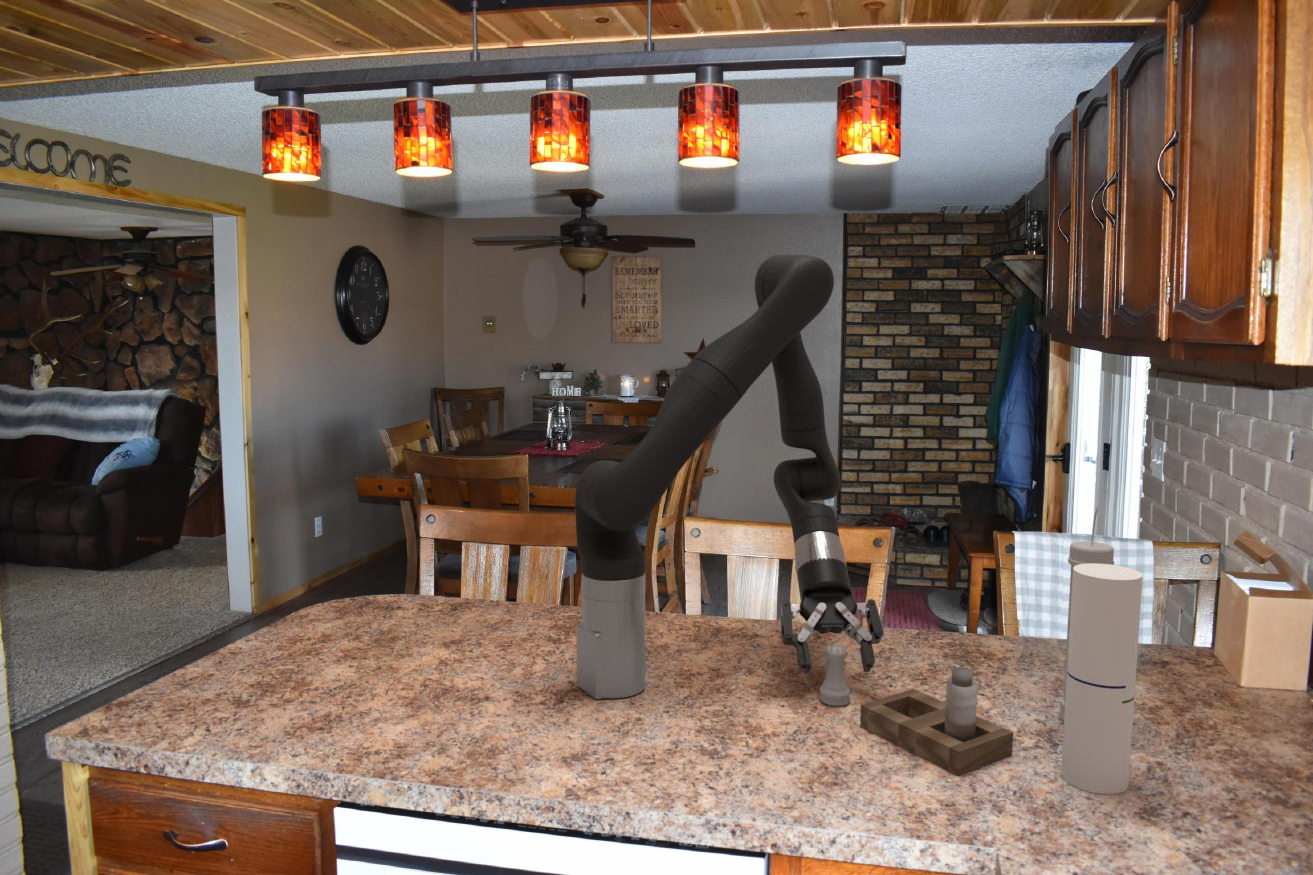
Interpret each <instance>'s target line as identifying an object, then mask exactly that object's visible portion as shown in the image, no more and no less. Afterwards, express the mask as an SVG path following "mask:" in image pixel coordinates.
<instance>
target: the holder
mask: <svg viewBox="0 0 1313 875" xmlns="http://www.w3.org/2000/svg"><path fill="white" fill-rule="evenodd" d="M973 673H974V672H973V670H972V669H971V668H967V667H963V666H956V667H953V668H952V670H951V677H949V678H948V679H947V680H946V684H945V685H946V688H945V702H944V701H942V700H940V699H937V698H935V697H933V696H931V695H928V694H926V693H923V692H922V691H919V690H918V689H914V688H912V689H908V690H905V691H901V692H898V693H895V694H892V695H888V696H886V697H882V698H879V699H875V700H871V701H869V702H865V703H861V704H860V721H859V726H860V727H861V728H862V729H865V730H867V731H869V732H870V733H872V734H875V735H877V736H879V737H880V738H883V739H884V740H886V741H888V742H890V743H892V744H894V745H896V746H898V747H900V748H902V749H903V750H906V751H908V752H909V753H912V754H914V755H916V756H918V757H920V758H921V759H924V760H926V761H928V762H930V763H932V764H933V765H936V766H937V767H939V768H941V769H943V770H945V771H947V772H950V773H951V774H953V775H955V776H957V777H959V776H962V775H964V774H967V773H969V772H972V771H975V770H977V769H979V768H982V767H985V766H989V765H991V764H993V763H996V762H998V761H1000V760H1003V759H1006V758H1008V757H1010V756H1013V744H1014V743H1013V742H1014V732H1013V731H1012V730H1010V729H1008V728H1004V727H1003V726H1000V725H998V724H995V723H994V722H992V721H988V720H986V719H984V718H982V717H979V716H977V700H978V699H977V698H978V683H977V682H976V681H974V680H973Z"/></svg>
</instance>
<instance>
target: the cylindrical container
mask: <svg viewBox="0 0 1313 875" xmlns="http://www.w3.org/2000/svg"><path fill="white" fill-rule="evenodd" d="M1143 577H1144V575H1143V573H1142V572H1141V571H1138V570H1136V569H1133V568H1130V567H1126V566H1121V565H1116V564H1114V565H1110V564H1096V563H1089V564H1079V565H1076V566H1074V567H1073V579H1072V596H1071V613H1070V630H1069V647H1068V664H1067V681H1066V698H1065V715H1064V722H1063V736H1062V738H1063V739H1062V749H1061V751H1062V753H1061V769H1060V774H1061V777H1062V779H1063V780H1064V781H1065V782H1067V784H1070V785H1071V786H1073V787H1075V788H1076V789H1080V790H1083V791H1085V790H1086V791H1085V792H1089V793H1092V794H1098V795H1117V794H1122V793H1124V792H1126V791H1127V790H1128V789H1129V783H1130V766H1131V756H1132V755H1131V754H1132V753H1131V752H1132V738H1133V725H1134V724H1133V722H1134V707H1135V696H1136V695H1135V692H1136V680H1137V678H1136V677H1137V664H1138V650H1139V634H1140V623H1141V622H1140V621H1141V620H1140V619H1141V608H1142V607H1141V606H1142V605H1141V604H1142V592H1143V591H1142V590H1143Z"/></svg>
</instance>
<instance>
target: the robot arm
mask: <svg viewBox="0 0 1313 875" xmlns="http://www.w3.org/2000/svg"><path fill="white" fill-rule="evenodd" d="M834 277H835V276H834V272H833V269H832V268H831V266H830V265H829V264H828V262H827V261H825V260H824V259H822V258H819V257H817V256H813V255H806V254H779V255H778V254H777V255H773V256H770V257H768V258H767V259H765V260H764V261H763V262H762V263H761V264H760V266H759V267H758V269H757V272H756V275H755V278H754V292H755V298H756V302H757V303H756V304H757V306H758V308H757V310H756V311H755V312H754V313H753V314H752V315H751V316H749V318H747V319H746V320H744V321H743V322H741V323H740V324H739V325H737V326H736V327H734V328H732V329H730V330H729V331H727V332H726V333H724V334H723V335H721V336H719V337H718V338H716V339H715V340H713V341H711V342H710V343H709V344H708V345H706V346H704V347H703V348H702V349H700V351H698V353H697V354H696V355H695V356H693V358H691V360H690V361H689V362H688V363H687V365H686V366H685V367H684V368H683V369H682V371H680V373H679V374H678V375H677V376H676V377H675V379H674V380H673V381H672V383H671V384H670V386H669V388H668V390H667V392H666V393H665V396H664V398H663V399H662V402H661V404H660V408H659V410H658V412H657V415H656V417H655V420H654V422H653V424H652V426H651V427H650V429H649V431H648V432H647V433H646V435H645V436H644V437H643V439H641V441H640V442H639V443H638V444H637V445H636V446H635V448H633V450H632V451H631V452H630V453H629V454H628V455H627V456H626V457H625V458H624V459H622V461H620V462H618V461H614V460H608V459H607V460H597V461H595V462H593V463H591V464H590V465H589V466H587V467H586V468H585V469H584V471H583V472H582V473H581V474H580V477H579V479H578V481H577V483H576V487H575V495H574V496H575V498H574V501H575V503H574V505H575V506H574V507H575V508H574V509H575V512H574V513H575V533H576V547H577V552H578V554H579V558H580V563H581V564H580V565H581V622H579V623H577V624H576V628H575V629H576V686H577V687H578V688H579V689H581V690H582V691H584V692H585V693H587V694H588V695H589V696H591V697H592V698H594V699H595V700H601V699H622V698H629V697H632V696H635V695H638V694H639V693H641V692H642V691H643V690H644V689H646V556H645V553H644V551H643V548H642V546H641V544H640V543H639V540H638V536H637V531H636V527H638V526H640V525H641V524H642V523H643V522H644V521H645V520H646V519H647V518H648V517H649V516H650V514H651V513H652V512H653V510H654V509H655V508H656V506H657V505H658V503H659V502H660V500H661V499H662V497H663V495H665V493H666V492H667V490H668V488H669V487H670V486H671V485H672V483H673V481H674V480H675V479H676V476H677V475H678V474H679V472H680V471H681V470H682V468H683V467H684V466H685V464H687V462H688V461H689V459H690V458H691V457H692V456H693V455H694V454H695V453H696V452H697V451H698V449H699V448H700V447H701V446H702V444H704V442H705V441H706V440H707V439H708V437H709V436H711V434H712V432H714V430H715V429H716V428H717V427H718V426H719V424H720V423H721V422H722V421H723V420H724V419H725V418H726V417H727V415H729V413H730V412H731V411H732V409H733V408H735V406H736V405H737V404H738V403H739V401H740V400H741V399H742V398H743V397H744V395H745V394H746V393H747V391H748V390H749V389H750V388H751V386H752V385H753V384H754V383H755V382H756V381H757V379H759V377H760V376H761V375H762V374H763V373H764V372H765V370H766V369H767V368H768V367H769V366H770V364H771V365H772V368H773V374H774V378H775V384H776V393H777V394H776V396H777V403H778V411H779V412H778V414H779V415H778V416H779V424H780V426H779V427H780V433H781V434H780V435H781V440H782V443H783V444H784V445H786V446H787V447H790V448H794V449H803V450H807V451H811V452H812V453H814V455H815V456H814V457H805V458H804V457H803V458H798V459H795V458H793V459H786V460H784V461H781V462H780V463H779V464H778V465H777V466H776V468H775V470H774V472H773V486H774V488H775V490H776V493H777V495H778V497H779V499H780V501H781V503H782V505H783V507H784V509H785V511H786V514H787V516H788V518H789V522H790V524H791V525H790V526H791V530H792V536H793V537H792V538H793V545H794V562H795V566H794V568H795V572H796V578H797V584H798V591H799V597H800V598H799V599H800V603H791V601H789V600H787V599H785V600H783V601H782V603H781V607H780V610H779V611H780V613H779V614H780V627H781V630H780V631H781V642H782V644H783V645H785V646H789V645H790V646H793V647H794V648H795V650H796V658H797V665H798V667H799V669H800V670H803V673H804V674H807V673H808V674H810V672H811V670H812V663H811V656H810V650H809V648H810V647H809V642H808V641H809V639H810V638H811V637H812V635H813V634H814V633H815V631H816V632H819V634H828V633H833V634H842V632H844V633H845V634H846V635H847V637H849V638H850V639H853V640H854V641H855V642H856V643H857V644H858V645H859V646H860V647H859V653H860V658H861V664H862V670H863V672H864V673H870V671H871V670H872V669H873V667H874V665H875V661H876V659H875V654H874V648H873V645H874V644H875V645H877V644H879V643H880V642H881V641H882V638H883V637H884V634H885V633H884V629H883V626H882V622H881V618H880V613H879V610H878V607H877V604H876V601H875V600H874V599H873V598H870V599H867V601H866V602H857V601H855V599H854V597H853V595H852V588H851V584H850V583H851V582H850V578H849V572H848V567H847V560H846V556H845V551H844V547H843V545H842V542H841V538H840V532H839V527H838V520H837V516H836V513H835V511H834V509H833V508H832V507H830V506H829V505H826V504H824V503H819V502H817V501H827V500H831V499H834V498H835V497H836V496H837V495H838V493H839V491H840V489H841V485H842V480H841V474H840V471H839V468H838V466H837V463H836V460H835V458H834V456H833V454H832V451H831V447H830V445H829V442H828V438H827V432H826V419H825V408H824V397H823V392H822V387H821V385H820V381H819V379H818V376H817V374H816V372H815V369H814V367H813V365H812V363H811V361H810V358H809V356H808V354H807V350H806V349H805V345H804V342H803V338H802V335H801V334H802V333H801V332H802V331H803V330H804V329H805V328H806V327H807V326H808V325H809V324H810V323H811V322H812V321H813V320H814V319H815V318H817V317H818V315H820V313H821V312H822V311H823V310H824V309H825V307H826V306H827V304H828V303H829V301H830V299H831V296H832V294H833V291H834V287H835V286H834V285H835V278H834ZM857 613H860V615H861V617H862V618H863V619H866V623H867V627H868V630H867V629H866V628H864V626H863V624H862V622H861V621H860V620H859V619H858V618H857V617H856V616H855V615H856V614H857ZM796 614H799V615H800V616H801V618H802V619H803V620H804V621H806V622H805V624H804V626H803V628H802V629H801V631H800V632H799V633H794V632H793V630H794V629H793V628H794V627H793V620H794V619H795V617H796Z"/></svg>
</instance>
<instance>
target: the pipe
mask: <svg viewBox="0 0 1313 875" xmlns="http://www.w3.org/2000/svg"><path fill="white" fill-rule="evenodd" d="M1098 511H1099V506H1096V509H1095V512H1094V515H1093V516H1094V517H1093V523H1092V531H1091V540H1089V541H1087V540H1079V541H1078V540H1077V541H1074V542H1071V544H1070V545H1069V556H1068V558H1067V563H1068V565H1069V564H1070V579H1069V580H1070V583H1069V598H1068V599H1069V600H1068V613H1067V614H1068V616H1067V628H1066V629H1067V632H1066V651H1065V665H1064V666H1065V667H1064V680H1063V681H1064V684H1063V696H1062V697H1060V699H1059V706H1060V715H1059V717H1060V719H1061V721H1062V722H1063V723H1064V715H1065V698H1066V681H1067V664H1068V647H1069V630H1070V613H1071V596H1072V579H1073V567H1074V566H1076V565H1079V564H1089V563H1096V564H1110V565H1115V561H1114V553H1115V547H1113V546H1112V545H1110V544H1108V543H1104V542H1099V541H1094V535H1095V528H1096V526H1095V525H1096V519H1097V514H1098Z"/></svg>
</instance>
